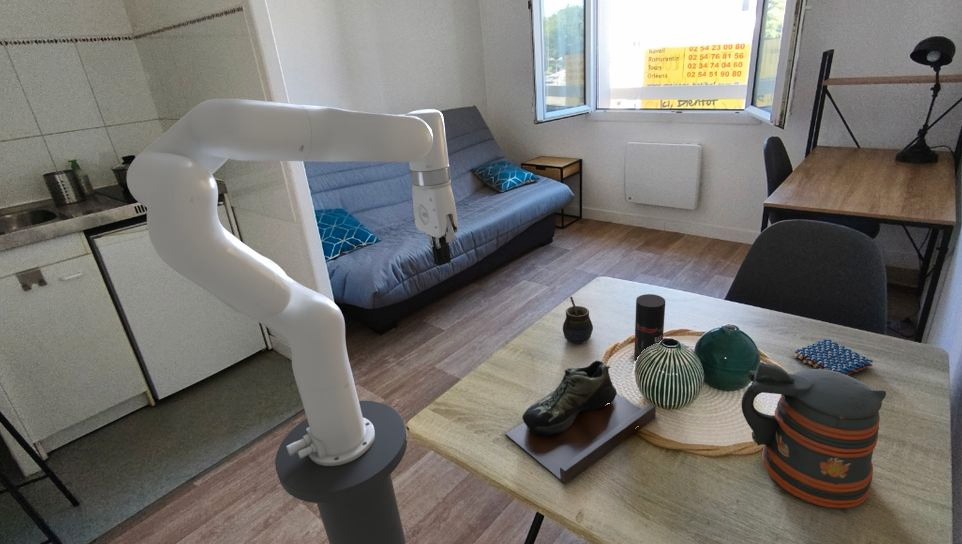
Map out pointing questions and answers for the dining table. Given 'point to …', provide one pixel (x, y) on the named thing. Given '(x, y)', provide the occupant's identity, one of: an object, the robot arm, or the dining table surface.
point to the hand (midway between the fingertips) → (442, 263)
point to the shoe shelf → (584, 438)
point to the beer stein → (816, 433)
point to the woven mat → (833, 357)
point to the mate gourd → (577, 324)
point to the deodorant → (648, 322)
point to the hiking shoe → (571, 399)
